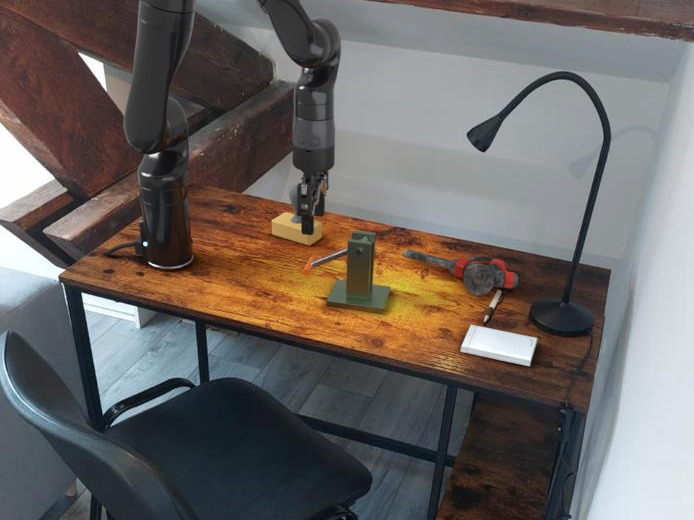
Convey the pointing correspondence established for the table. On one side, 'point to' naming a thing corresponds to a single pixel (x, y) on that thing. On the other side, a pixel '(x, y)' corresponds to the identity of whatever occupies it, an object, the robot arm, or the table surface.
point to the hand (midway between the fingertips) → (313, 224)
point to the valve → (472, 271)
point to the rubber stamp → (294, 224)
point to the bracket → (360, 278)
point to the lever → (326, 259)
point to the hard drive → (499, 345)
